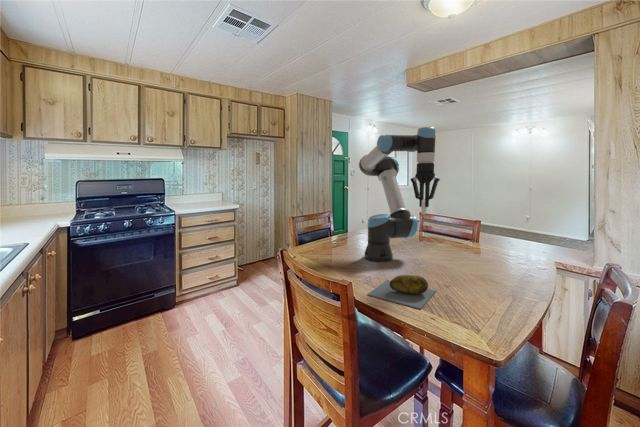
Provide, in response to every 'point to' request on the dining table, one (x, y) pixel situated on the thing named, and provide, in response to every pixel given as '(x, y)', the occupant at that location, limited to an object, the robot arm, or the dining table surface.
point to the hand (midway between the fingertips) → (423, 214)
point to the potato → (409, 284)
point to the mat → (401, 296)
